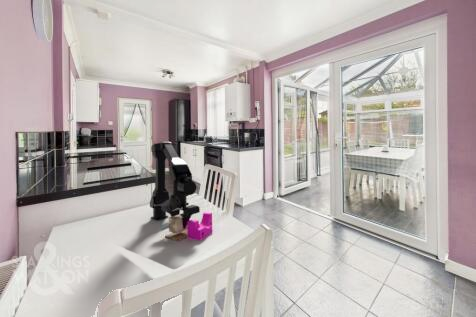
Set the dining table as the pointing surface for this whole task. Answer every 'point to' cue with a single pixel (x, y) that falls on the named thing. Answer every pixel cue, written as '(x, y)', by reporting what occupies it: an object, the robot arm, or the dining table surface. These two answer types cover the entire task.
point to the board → (177, 235)
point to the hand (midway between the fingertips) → (180, 227)
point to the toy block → (200, 227)
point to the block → (176, 224)
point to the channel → (165, 225)
